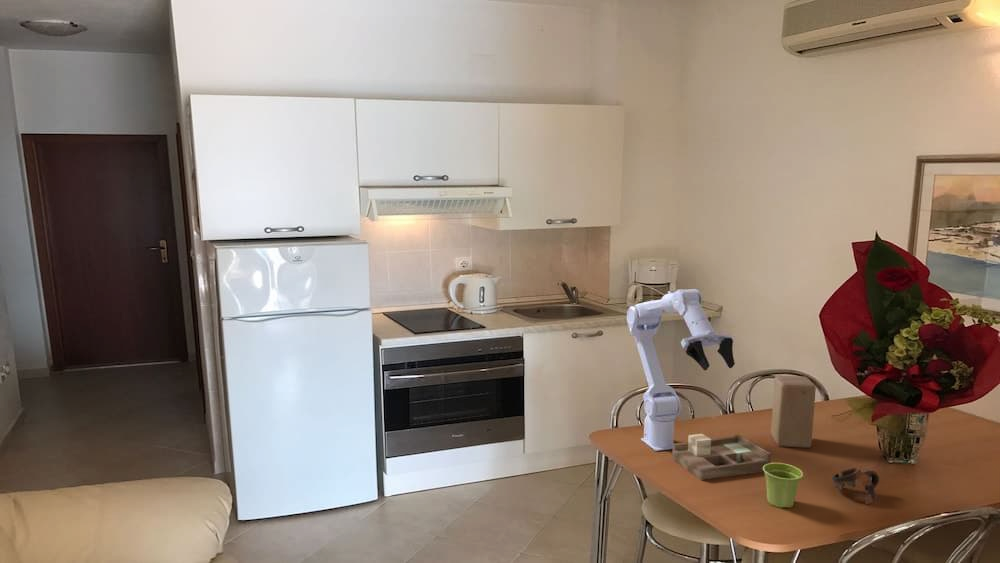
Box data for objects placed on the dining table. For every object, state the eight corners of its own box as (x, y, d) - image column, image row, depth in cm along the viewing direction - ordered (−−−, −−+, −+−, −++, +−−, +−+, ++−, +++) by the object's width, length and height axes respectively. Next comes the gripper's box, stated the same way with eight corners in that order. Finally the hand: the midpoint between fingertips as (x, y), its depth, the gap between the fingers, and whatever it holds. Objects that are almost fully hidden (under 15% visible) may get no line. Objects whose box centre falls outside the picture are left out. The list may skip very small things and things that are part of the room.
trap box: (672, 458, 202) (672, 442, 201) (737, 450, 208) (738, 434, 207) (701, 480, 188) (702, 462, 187) (769, 470, 194) (771, 453, 193)
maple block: (687, 450, 200) (688, 435, 200) (701, 448, 202) (702, 433, 201) (696, 456, 196) (697, 441, 196) (710, 454, 198) (711, 439, 197)
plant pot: (806, 502, 175) (808, 469, 174) (792, 515, 168) (795, 482, 167) (769, 491, 182) (771, 459, 180) (755, 503, 175) (757, 471, 173)
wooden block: (812, 449, 209) (816, 385, 206) (777, 447, 211) (781, 383, 208) (803, 436, 219) (807, 375, 216) (769, 435, 220) (774, 374, 217)
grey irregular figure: (861, 510, 172) (845, 478, 174) (835, 510, 181) (820, 480, 183) (895, 490, 176) (879, 459, 178) (868, 491, 185) (853, 462, 187)
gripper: (681, 318, 184) (701, 360, 176) (728, 315, 188) (750, 356, 180) (671, 333, 189) (690, 375, 181) (717, 330, 193) (738, 371, 185)
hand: (719, 367), depth 181 cm, fingers open, 7 cm apart
